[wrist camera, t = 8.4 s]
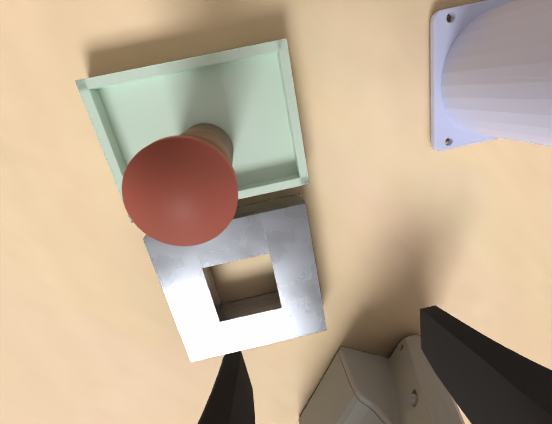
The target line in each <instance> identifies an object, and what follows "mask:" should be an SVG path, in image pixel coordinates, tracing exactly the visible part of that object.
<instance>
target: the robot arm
mask: <svg viewBox="0 0 552 424" xmlns="http://www.w3.org/2000/svg"><path fill="white" fill-rule="evenodd" d="M448 14H449V15H450V16H451V21H450V22H449V23H448V22H447V19H446V18H447V15H448ZM430 53H431V147H432V148H433V149H434V150H437V151H442V150H447V149H452V148H456V147H461V146H466V145H470V144H475V143H479V142H484V141H489V140H493V139H498V138H502V139H508V140H514V141H520V142H526V143H532V144H538V145H544V146H550V147H552V0H486V1H481V2H476V3H471V4H466V5H461V6H456V7H451V8H446V9H442V10H439V11H437V12H435V13H434V14H433V15H432V17H431V21H430ZM447 138H449V142H448V143H447V144H445V141H446V139H447ZM420 325H421V349H422V351H423V353H424V355H425V356H426V358H427V360H428V362H429V363H430V365H431V367H432V369H433V370H434V372H435V374H436V375H437V377H438V378H439V379H440V381H441V382H442V384H443V385H444V386H445V388H446V389H447V391H448V392H449V393H450V395H451V396H452V397H453V399H454V400H455V402H456V403H457V404H458V406H459V407H460V408H461V410H462V411H463V413H464V414H465V415H466V417H467V418H468V419H469V421H470V422H471V423H472V424H552V370H550V369H548V368H546V367H544V366H541V365H539V364H537V363H535V362H533V361H531V360H529V359H527V358H525V357H523V356H521V355H519V354H518V353H516V352H514V351H512V350H510V349H508V348H506V347H504V346H502V345H501V344H499V343H497V342H495V341H493V340H492V339H490V338H488V337H486V336H485V335H483V334H481V333H480V332H478V331H476V330H475V329H473V328H471V327H470V326H468V325H466V324H465V323H463V322H461V321H460V320H458V319H456V318H455V317H453V316H452V315H450V314H448V313H447V312H445V311H443V310H442V309H440V308H438V307H437V306H431V307H427V308H422V309H420ZM198 424H255V411H254V400H253V389H252V385H251V382H250V379H249V375H248V372H247V369H246V366H245V362H244V359H243V356H242V353H241V351H238V352H233V353H229V354H225V356H224V357H223V360H222V364H221V367H220V370H219V373H218V375H217V378H216V381H215V384H214V386H213V389H212V392H211V394H210V396H209V399H208V401H207V404H206V406H205V409H204V411H203V413H202V415H201V418H200V420H199V422H198Z"/></svg>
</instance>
